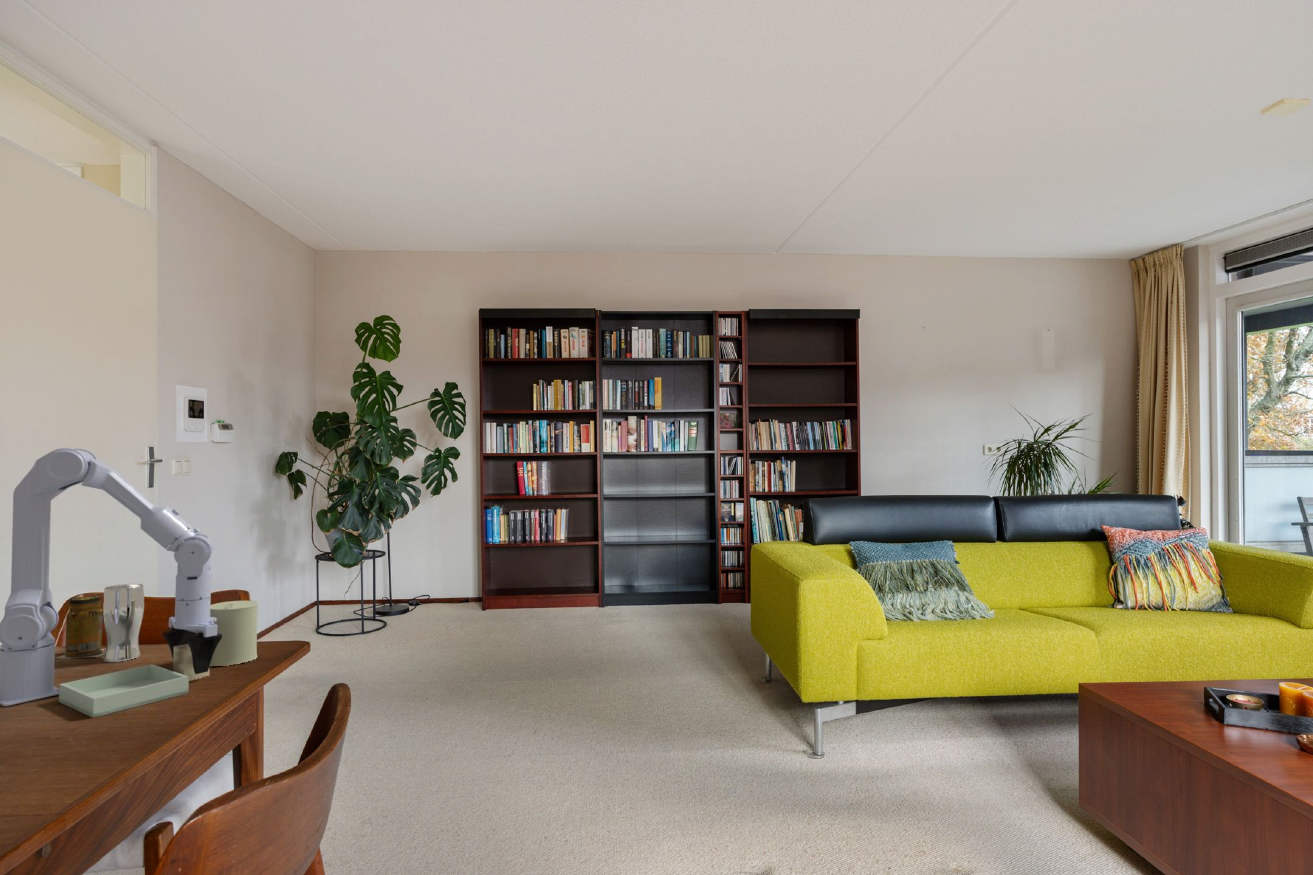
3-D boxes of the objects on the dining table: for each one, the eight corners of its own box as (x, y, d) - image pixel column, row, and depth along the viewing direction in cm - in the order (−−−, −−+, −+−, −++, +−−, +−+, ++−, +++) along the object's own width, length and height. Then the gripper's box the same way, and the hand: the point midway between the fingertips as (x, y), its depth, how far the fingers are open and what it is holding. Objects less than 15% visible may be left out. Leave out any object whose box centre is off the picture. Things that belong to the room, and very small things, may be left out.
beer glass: (125, 663, 143) (127, 589, 144) (92, 663, 143) (94, 589, 144) (150, 653, 150) (152, 583, 150) (118, 653, 150) (120, 583, 151)
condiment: (78, 650, 153) (80, 594, 154) (119, 649, 154) (121, 594, 154) (53, 659, 146) (55, 601, 146) (96, 658, 147) (98, 600, 147)
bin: (58, 701, 120) (59, 684, 120) (151, 680, 132) (152, 664, 132) (93, 717, 113) (93, 698, 113) (188, 693, 125) (188, 676, 125)
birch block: (172, 678, 134) (173, 646, 134) (197, 672, 137) (198, 641, 137) (184, 682, 131) (185, 649, 131) (209, 676, 135) (210, 644, 135)
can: (200, 668, 139) (202, 608, 140) (211, 656, 148) (212, 599, 148) (253, 664, 143) (254, 605, 143) (260, 652, 151) (261, 596, 152)
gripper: (234, 598, 134) (233, 670, 134) (196, 591, 142) (195, 658, 142) (194, 605, 128) (192, 679, 128) (157, 596, 136) (155, 667, 136)
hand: (191, 669), depth 134 cm, fingers open, 7 cm apart
